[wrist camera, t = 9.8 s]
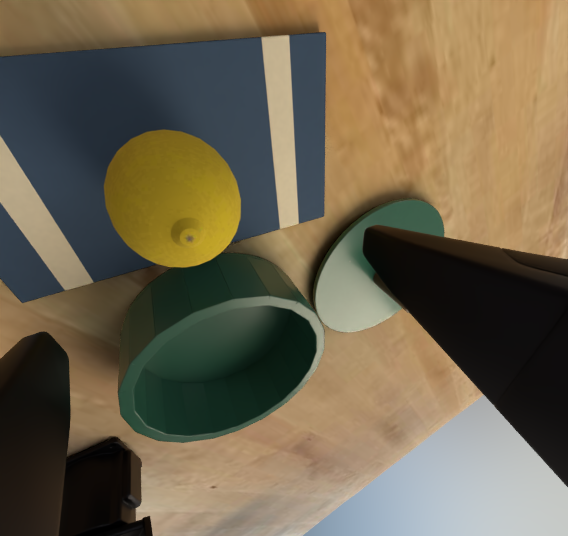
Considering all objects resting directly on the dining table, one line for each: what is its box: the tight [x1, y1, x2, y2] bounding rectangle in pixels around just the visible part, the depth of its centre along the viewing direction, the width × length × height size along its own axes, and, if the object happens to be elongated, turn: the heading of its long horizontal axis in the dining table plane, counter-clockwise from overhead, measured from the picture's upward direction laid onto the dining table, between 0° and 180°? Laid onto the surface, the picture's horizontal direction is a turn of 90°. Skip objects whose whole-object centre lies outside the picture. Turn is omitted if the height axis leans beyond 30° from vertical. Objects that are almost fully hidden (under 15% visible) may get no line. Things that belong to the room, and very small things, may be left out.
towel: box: [0, 32, 326, 303], centre depth 16 cm, size 20×11×1 cm, turn 95°
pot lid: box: [313, 198, 444, 332], centre depth 27 cm, size 15×15×6 cm
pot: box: [118, 253, 325, 443], centre depth 22 cm, size 15×15×5 cm
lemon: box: [104, 129, 241, 267], centre depth 13 cm, size 6×6×8 cm
